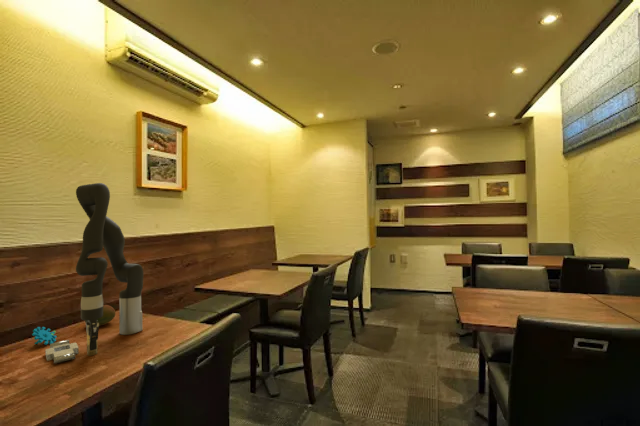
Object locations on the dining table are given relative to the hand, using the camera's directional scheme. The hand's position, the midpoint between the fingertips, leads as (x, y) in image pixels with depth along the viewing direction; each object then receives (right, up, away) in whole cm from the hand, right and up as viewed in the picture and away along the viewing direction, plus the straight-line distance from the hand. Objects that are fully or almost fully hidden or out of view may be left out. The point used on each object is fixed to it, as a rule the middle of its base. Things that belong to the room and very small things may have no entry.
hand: (92, 348), depth 132 cm
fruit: (-21, -3, +35) cm, 41 cm away
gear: (-29, -3, +11) cm, 31 cm away
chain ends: (-12, -2, 0) cm, 13 cm away
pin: (0, -2, 0) cm, 2 cm away
